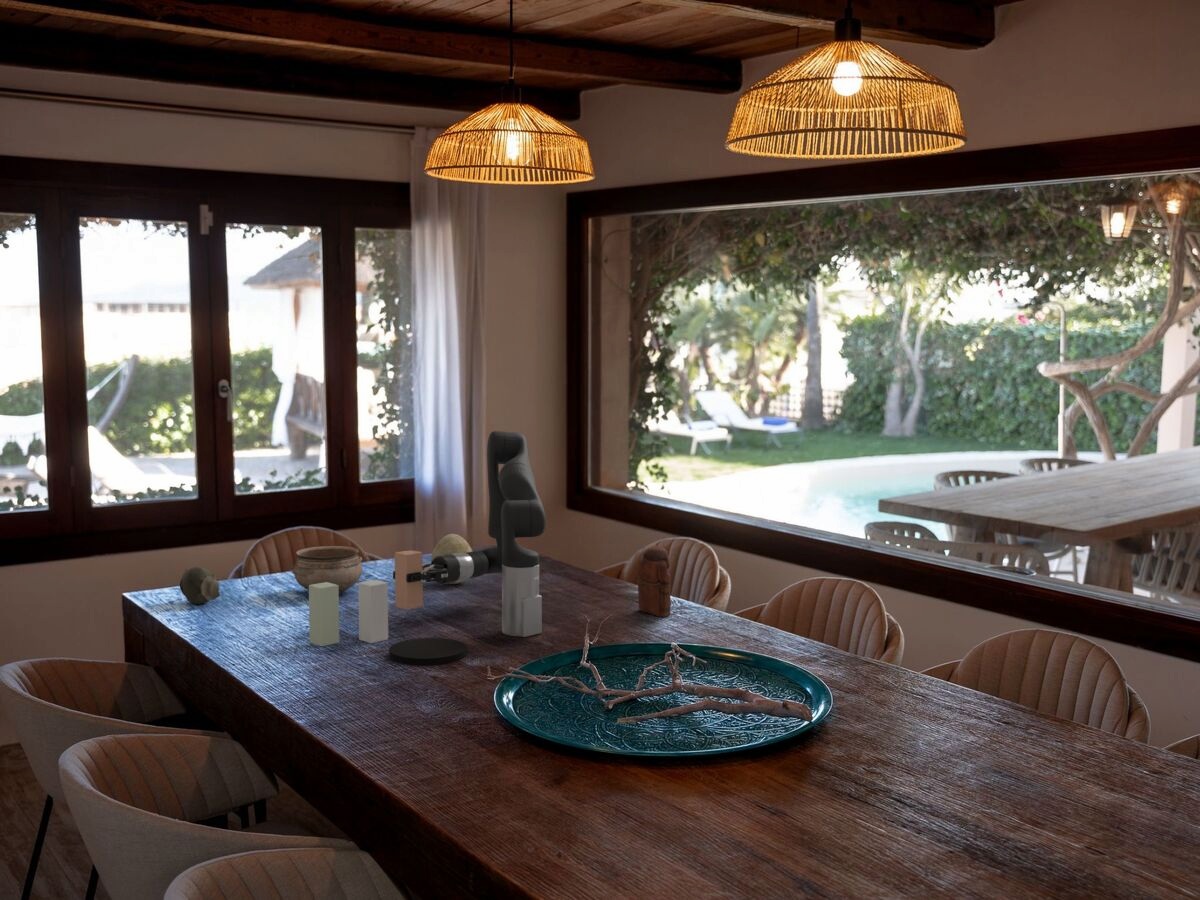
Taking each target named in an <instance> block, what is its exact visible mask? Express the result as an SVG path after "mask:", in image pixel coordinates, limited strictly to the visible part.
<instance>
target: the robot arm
mask: <svg viewBox="0 0 1200 900" xmlns="http://www.w3.org/2000/svg"><path fill="white" fill-rule="evenodd" d="M486 463H487V464H486V465H487V470H486V471H487V486H488V498H489V499H488V501H489V507H488V509H489V510H488V524H487V527H488V528H487V534H488V536H489V537H490V538H492V539H495V542H496V545H497V547H490V548H489V547H488V548H484V549H481V550H478V551H477V550H475V551H474V550H472V552H467V553H454V554H448V555H442V556H437V557H435V558H434V559H433V560H432V562H431V561H430V563H429V562H428V563H423V571H420V573H419V572H415V573H409V574H407V575H406V582H408V583H410V582H416V581H421V582H423V583H424V582H426V583H432V582H435V583H437V584H438V585H446V584H447V583H453V582H458V581H462V582H464V581H466V580H468V579H473V578H474V579H475V578H478V577H482V576H483V575H487V574H501V633H502V634H503V635H506V636H510V637H522V638H525V637H530V636H535V635H537V634H542V631H543V629H542V626H543V625H542V621H543V619H542V618H543V617H542V615H543V599H542V598H543V597H542V595H540V555H539V553H538V552H537V551H535V550H533V549H528V548H526V547H524V546H522V545H520V544H518V543H517V541H516V538H519V539H520V538H536V537H540V536H541V535H542V534H543V533H544V531H545V530H546V526H547V525H546V524H547V517H546V512H545V509H544V506H543V502H542V500H541V497H540V496H539V493H538V490H537V485H536V479H535V476H534V473H533V470H532V467H531V462H530V457H529V447H528V440H527V438H526V436H525V435H524V434H522V433H521V432H514V431H504V430H503V431H502V430H493V431H491V432H490V433H489V436H488V439H487V447H486ZM499 465H503V466H502V467H501V468H500V467H499ZM499 468H500V469H499ZM499 470H500V471H499ZM392 578H393V580H395V570H393V572H392ZM463 580H464V581H463Z"/></svg>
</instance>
